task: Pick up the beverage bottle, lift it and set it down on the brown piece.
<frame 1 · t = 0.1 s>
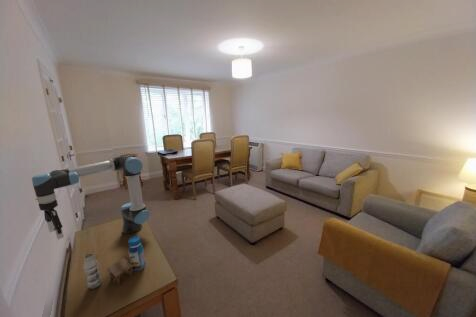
hand: (56, 234, 116), 28 cm above the table, fingers open, 13 cm apart
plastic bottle: (95, 285, 113), on the table
beverage bottle: (138, 266, 127), on the table
brown piece: (122, 276, 119), on the table
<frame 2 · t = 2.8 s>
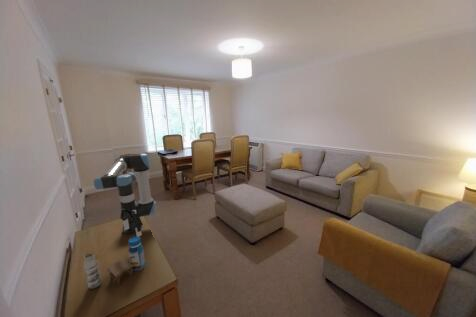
hand: (132, 232, 121), 25 cm above the table, fingers open, 13 cm apart
nothing on the table moved.
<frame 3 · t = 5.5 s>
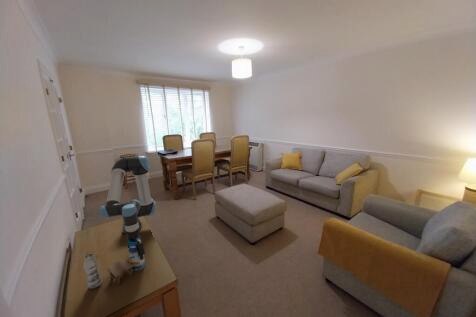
hand: (137, 260, 126), 4 cm above the table, fingers closed on beverage bottle, 8 cm apart
beverage bottle: (138, 266, 127), on the table, touching gripper
everything else where it was.
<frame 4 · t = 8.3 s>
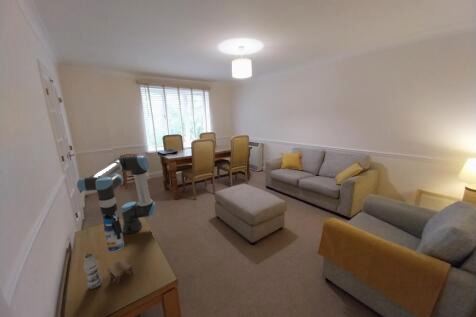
hand: (115, 241, 114), 24 cm above the table, fingers closed on beverage bottle, 8 cm apart
beverage bottle: (116, 247, 115), point 20 cm above the table, touching gripper
everything else where it was.
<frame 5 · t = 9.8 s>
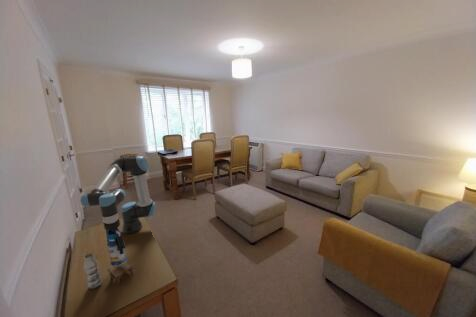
hand: (118, 255, 116), 15 cm above the table, fingers closed on beverage bottle, 8 cm apart
beverage bottle: (119, 261, 117), point 10 cm above the table, touching gripper
everything else where it was.
when the fingers open (13 cm above the table, at t = 11.1 s): beverage bottle drops 1 cm, resting on brown piece.
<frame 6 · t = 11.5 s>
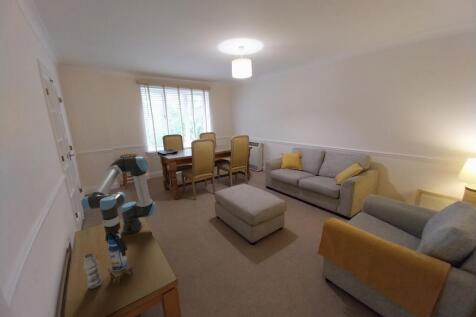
hand: (118, 256, 116), 14 cm above the table, fingers open, 13 cm apart
beverage bottle: (120, 266, 118), point 7 cm above the table, touching brown piece
everything else where it was.
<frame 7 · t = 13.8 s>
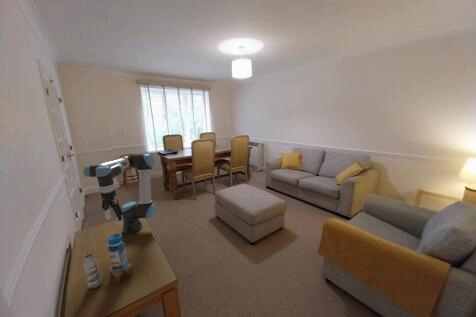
hand: (114, 221, 125), 30 cm above the table, fingers open, 13 cm apart
nothing on the table moved.
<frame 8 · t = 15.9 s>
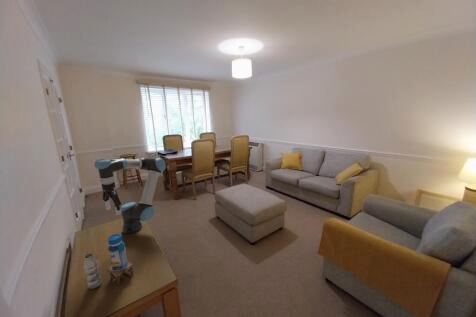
hand: (113, 211, 135), 31 cm above the table, fingers open, 13 cm apart
nothing on the table moved.
at the end: beverage bottle inside the target area on the brown piece (0.1 cm from its centre), point 7.0 cm above the brown piece's base; beverage bottle tilted 0°; the gripper is holding nothing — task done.
